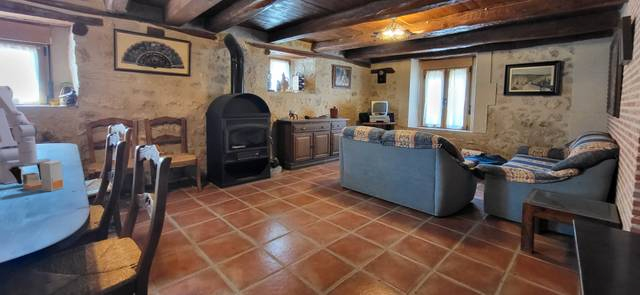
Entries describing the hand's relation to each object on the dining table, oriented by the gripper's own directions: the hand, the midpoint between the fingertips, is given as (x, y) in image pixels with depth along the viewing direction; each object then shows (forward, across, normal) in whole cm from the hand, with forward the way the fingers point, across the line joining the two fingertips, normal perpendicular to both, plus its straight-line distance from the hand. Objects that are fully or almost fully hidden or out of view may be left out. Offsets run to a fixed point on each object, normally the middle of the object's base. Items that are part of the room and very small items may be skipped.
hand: (31, 181), depth 134 cm
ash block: (+2, 0, 0) cm, 2 cm away
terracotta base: (+1, -1, -8) cm, 8 cm away
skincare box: (+2, +1, -16) cm, 16 cm away
